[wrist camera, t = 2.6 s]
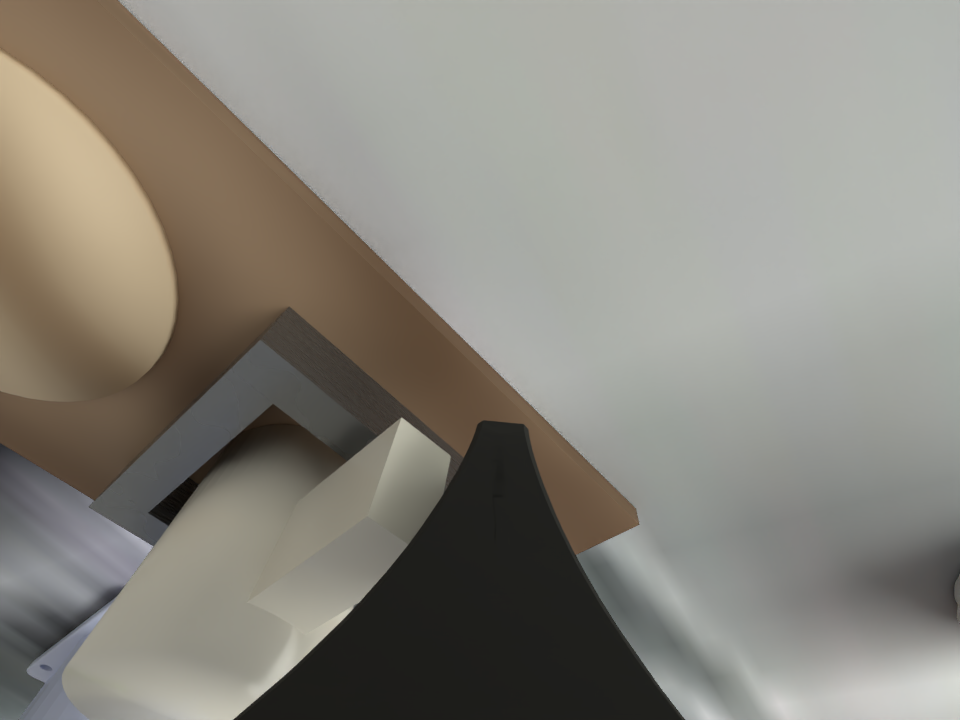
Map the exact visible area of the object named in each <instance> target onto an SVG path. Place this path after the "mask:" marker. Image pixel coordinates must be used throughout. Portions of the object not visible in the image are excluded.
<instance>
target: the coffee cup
mask: <svg viewBox="0 0 960 720" xmlns="http://www.w3.org/2000/svg"><path fill="white" fill-rule="evenodd" d="M954 599H955V600H956V602H957V604H958V608H957V620H958V622H959V624H960V574H959V576H958V578H957V580H956V582H955V588H954Z"/></svg>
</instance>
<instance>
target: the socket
mask: <svg viewBox="0 0 960 720" xmlns="http://www.w3.org/2000/svg"><path fill="white" fill-rule="evenodd" d="M272 404H274V405H276V406H277V407H278V408H279V409H281V410H282V411H283V412H285V413H286V414H287V415H288V416H290V417H291V418H292V419H294V420H295V421H296V422H297V423H299V424H300V425H301V426H303V427H304V428H305V429H306V430H308V431H309V432H310V433H312V434H313V435H314V436H315V437H317V438H318V439H319V440H321V441H322V442H323V443H324V444H326V445H327V446H328V447H330V448H331V449H332V450H333V451H335V452H336V453H337V454H339V455H340V456H341V457H342V458H344V459H345V460H346V461H348V460H350V459H351V458H352V457H353V456H354V455H356V454H357V453H358V452H359V451H361V450H362V449H363V448H364V447H366V446H367V445H368V444H369V443H370V442H372V441H373V440H374V439H375V438H377V437H378V436H379V435H380V434H382V433H383V432H384V431H385V430H386V429H388V428H389V427H390V426H391V425H393V424H394V423H395V422H396V421H398V420H399V419H400V418H401V417H402V418H403V419H404V420H406V421H407V422H408V423H410V424H411V425H412V426H413V427H415V428H416V429H417V430H418V431H420V432H421V433H422V434H424V435H425V436H426V437H427V438H429V439H430V440H431V441H432V442H434V443H435V444H436V445H438V446H439V447H440V448H441V449H443V450H444V451H445V452H446V453H448V454H449V455H450V456H451V458H450V463H449V468H448V473H447V478H446V483H445V488H444V492H445V490H446V489H447V487H448V485H449V483H450V482H451V480H452V478H453V477H454V475H455V473H456V471H457V470H458V468H459V466H460V464H461V462H462V460H463V458H464V457H462V456H461V455H460V454H459V453H458V452H457V451H455V450H454V449H453V448H452V447H451V446H450V445H449V444H447V443H446V442H445V441H444V440H443V439H442V438H440V437H439V436H438V435H437V434H436V433H435V432H434V431H432V430H431V429H430V428H429V427H428V426H427V425H426V424H424V423H423V422H422V421H421V420H420V419H419V418H417V417H416V416H415V415H414V414H413V413H412V412H411V411H409V410H408V409H407V408H406V407H405V406H404V405H402V404H401V403H400V402H399V401H398V400H397V399H396V398H394V397H393V396H392V395H391V394H390V393H389V392H387V391H386V390H385V389H384V388H383V387H382V386H381V385H379V384H378V383H377V382H376V381H375V380H374V379H373V378H371V377H370V376H369V375H368V374H367V373H366V372H364V371H363V370H362V369H361V368H360V367H359V366H358V365H356V364H355V363H354V362H353V361H352V360H351V359H349V358H348V357H347V356H346V355H345V354H344V353H343V352H341V351H340V350H339V349H338V348H337V347H336V346H335V345H333V344H332V343H331V342H330V341H329V340H328V339H326V338H325V337H324V336H323V335H322V334H321V333H320V332H318V331H317V330H316V329H315V328H314V327H313V326H311V325H310V324H309V323H308V322H307V321H306V320H305V319H303V318H302V317H301V316H300V315H299V314H298V313H296V312H295V311H294V310H293V309H292V308H291V307H290V306H289V307H288V308H287V309H286V310H285V311H284V312H283V313H282V314H281V315H280V316H279V317H278V318H277V319H276V320H275V321H274V322H273V323H272V324H271V325H270V326H269V327H268V328H267V329H266V330H265V331H264V332H263V333H262V334H261V335H260V336H259V337H257V338H256V339H255V340H254V341H253V342H252V343H251V344H250V345H249V346H248V347H247V348H246V349H245V350H244V351H243V352H242V353H241V354H240V355H239V356H238V357H237V358H236V359H235V360H234V361H233V362H232V363H231V364H230V365H229V366H228V367H227V368H226V369H225V370H224V371H223V372H222V373H221V374H220V375H219V376H218V377H217V378H216V379H215V380H214V381H213V382H212V383H211V384H210V385H209V386H208V387H206V388H205V389H204V390H203V391H202V392H201V393H200V394H199V395H198V396H197V397H196V398H195V399H194V400H193V401H192V402H191V403H190V404H189V405H188V406H187V407H186V408H185V409H184V410H183V411H182V412H181V413H180V414H179V415H178V416H177V417H176V418H175V419H174V420H173V421H172V422H171V423H170V424H169V425H168V426H167V427H166V428H165V429H164V430H163V431H162V432H161V433H160V434H159V435H158V436H157V437H155V438H154V439H153V440H152V441H151V442H150V443H149V444H148V445H147V446H146V447H145V448H144V449H143V450H142V451H141V452H140V453H139V454H138V455H137V456H136V457H135V458H134V459H133V460H132V461H131V462H130V463H129V464H128V465H127V466H126V467H125V468H124V469H123V470H122V471H121V472H120V473H119V475H118V476H117V477H116V478H115V479H114V480H113V481H112V482H111V483H110V484H109V485H108V486H107V488H106V489H105V490H104V491H103V492H102V493H101V494H100V495H99V496H98V497H97V498H96V500H95V501H94V502H93V503H92V504H91V505H90V506H89V508H91V509H93V510H94V511H96V512H98V513H99V514H101V515H103V516H104V517H106V518H108V519H109V520H111V521H113V522H114V523H116V524H118V525H119V526H121V527H122V528H124V529H126V530H127V531H129V532H131V533H132V534H134V535H136V536H137V537H139V538H141V539H142V540H144V541H146V542H147V543H149V544H151V545H152V546H154V545H155V544H156V543H157V541H158V540H159V539H160V537H161V536H162V535H163V533H164V532H165V530H166V529H167V528H168V526H169V525H170V524H171V522H172V521H173V520H174V518H175V517H176V515H177V514H178V513H179V511H180V510H181V509H182V507H183V506H184V504H185V503H186V502H187V500H188V499H189V498H190V496H191V495H192V494H193V492H194V491H195V489H196V488H197V487H198V485H199V484H197V483H196V482H194V481H193V480H192V479H190V478H189V477H190V476H191V475H192V474H193V473H194V472H195V471H197V470H198V469H199V468H200V467H201V466H202V465H203V464H205V463H206V462H207V461H208V460H209V459H210V458H211V457H213V456H214V455H215V454H216V453H217V452H218V451H219V450H221V449H222V448H223V447H224V446H225V445H226V444H228V443H229V442H230V441H231V440H232V439H233V438H234V437H236V436H237V435H238V434H239V433H240V432H241V431H242V430H244V429H245V428H246V427H247V426H248V425H249V424H250V423H252V422H253V421H254V420H255V419H256V418H257V417H259V416H260V415H261V414H262V413H263V412H264V411H265V410H267V409H268V408H269V407H270V406H271V405H272ZM443 494H444V493H443ZM357 604H358V603H357ZM357 604H355V605H354V607H355V606H356V605H357ZM354 607H353V609H354Z"/></svg>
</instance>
